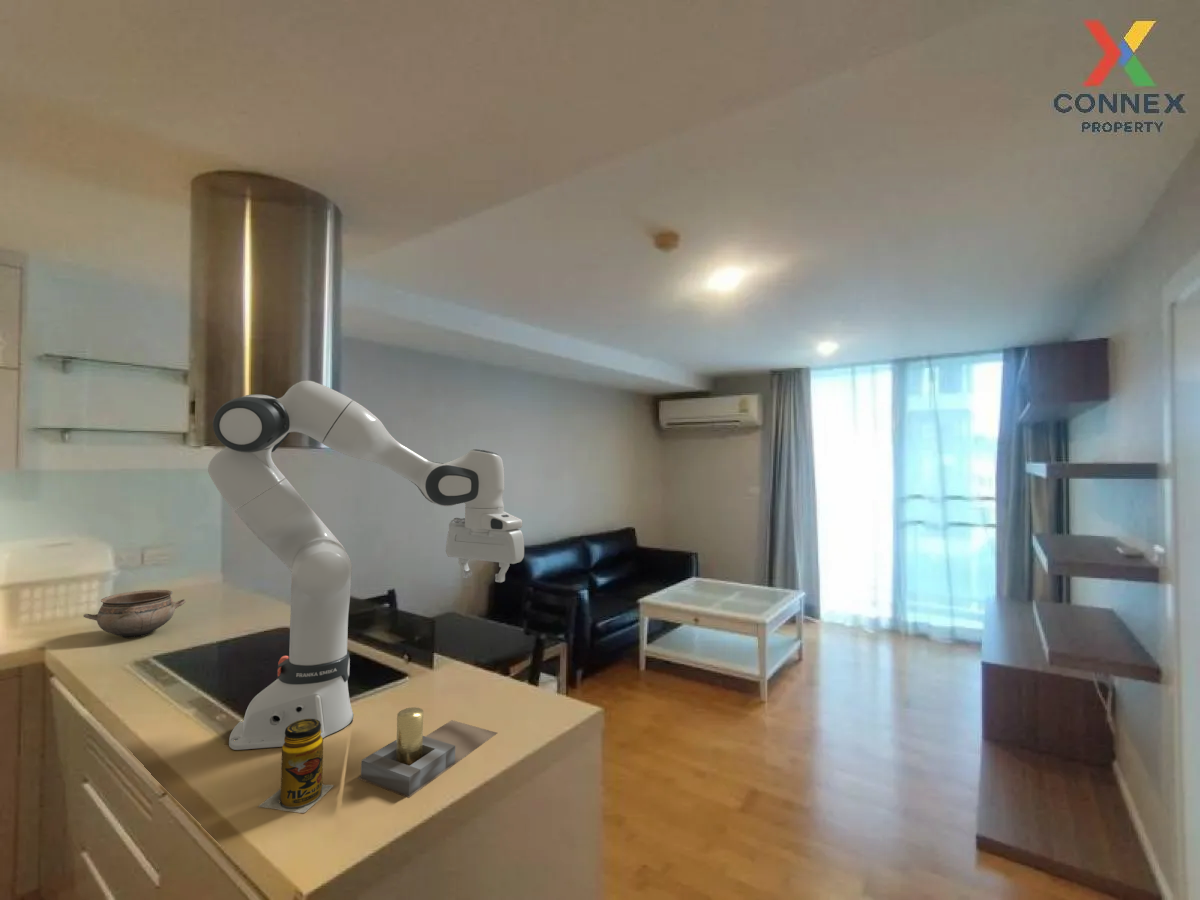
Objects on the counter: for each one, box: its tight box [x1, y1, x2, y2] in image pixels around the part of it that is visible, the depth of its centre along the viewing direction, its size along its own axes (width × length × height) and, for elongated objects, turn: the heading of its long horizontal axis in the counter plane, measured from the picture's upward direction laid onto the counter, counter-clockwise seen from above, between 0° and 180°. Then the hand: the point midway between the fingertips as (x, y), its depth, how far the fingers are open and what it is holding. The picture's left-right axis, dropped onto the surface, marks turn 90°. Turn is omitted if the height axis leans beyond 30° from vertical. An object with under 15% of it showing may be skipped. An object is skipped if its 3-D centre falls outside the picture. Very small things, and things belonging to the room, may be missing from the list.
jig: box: [356, 719, 498, 799], centre depth 101 cm, size 24×12×4 cm, turn 154°
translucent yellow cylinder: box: [396, 706, 424, 766], centre depth 96 cm, size 4×4×10 cm
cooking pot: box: [83, 589, 187, 639], centre depth 171 cm, size 25×19×12 cm
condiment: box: [257, 719, 335, 814], centre depth 89 cm, size 7×8×12 cm
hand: (483, 579), depth 124 cm, fingers open, 8 cm apart
